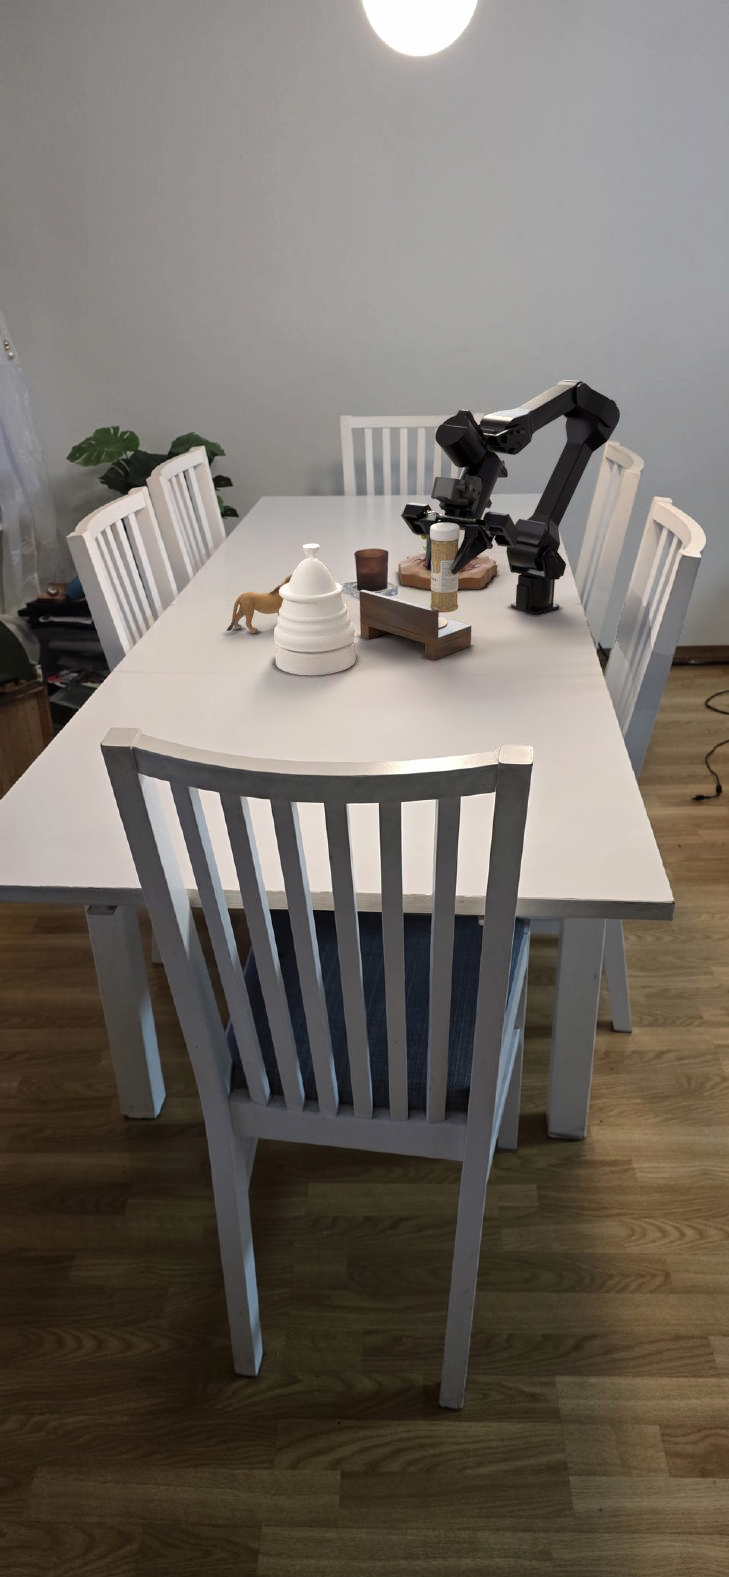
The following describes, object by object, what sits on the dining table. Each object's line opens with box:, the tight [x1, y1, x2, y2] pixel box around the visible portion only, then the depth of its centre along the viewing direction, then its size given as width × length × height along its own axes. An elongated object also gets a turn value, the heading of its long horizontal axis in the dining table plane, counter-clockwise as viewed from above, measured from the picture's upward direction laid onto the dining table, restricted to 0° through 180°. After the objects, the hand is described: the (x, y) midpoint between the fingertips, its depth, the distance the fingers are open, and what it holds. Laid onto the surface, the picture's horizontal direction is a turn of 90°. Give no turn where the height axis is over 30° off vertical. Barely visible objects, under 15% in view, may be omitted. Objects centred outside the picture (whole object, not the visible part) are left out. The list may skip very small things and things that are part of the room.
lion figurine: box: [226, 573, 293, 634], centre depth 172 cm, size 15×5×9 cm, turn 110°
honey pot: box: [273, 543, 357, 676], centre depth 155 cm, size 13×13×18 cm
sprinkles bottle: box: [429, 523, 461, 613], centre depth 156 cm, size 5×5×13 cm
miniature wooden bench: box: [358, 589, 472, 661], centre depth 164 cm, size 9×17×8 cm, turn 44°
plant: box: [398, 535, 498, 590], centre depth 197 cm, size 20×20×11 cm
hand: (440, 571), depth 155 cm, fingers closed on sprinkles bottle, 4 cm apart
